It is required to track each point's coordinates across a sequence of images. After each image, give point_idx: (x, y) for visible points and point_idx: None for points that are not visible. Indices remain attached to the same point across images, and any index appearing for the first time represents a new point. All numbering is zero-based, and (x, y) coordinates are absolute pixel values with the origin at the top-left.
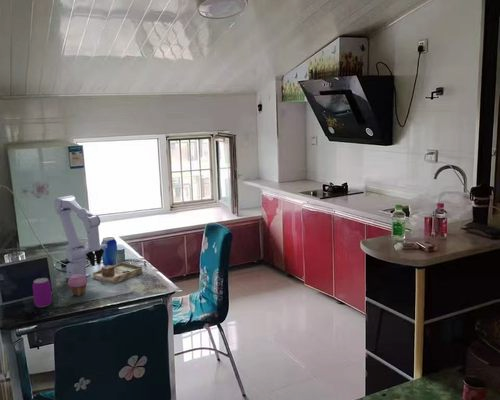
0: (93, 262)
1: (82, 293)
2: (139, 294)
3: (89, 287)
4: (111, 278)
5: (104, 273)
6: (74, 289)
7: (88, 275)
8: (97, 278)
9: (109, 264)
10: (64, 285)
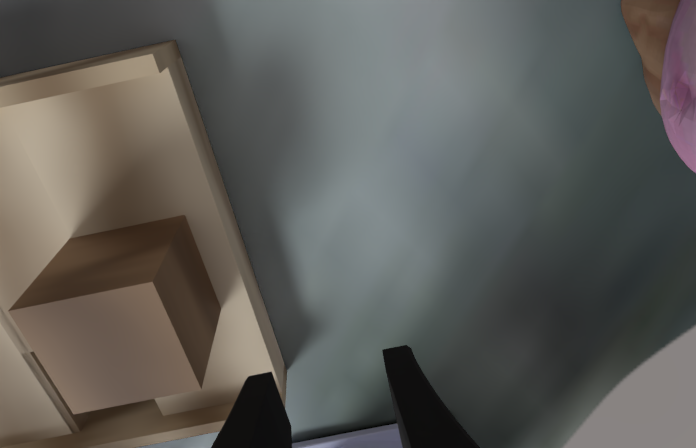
0: (434, 394)
1: None
2: None
3: (465, 147)
4: (158, 133)
5: (198, 292)
6: None
7: (302, 443)
8: (269, 325)
9: None
10: (583, 367)
